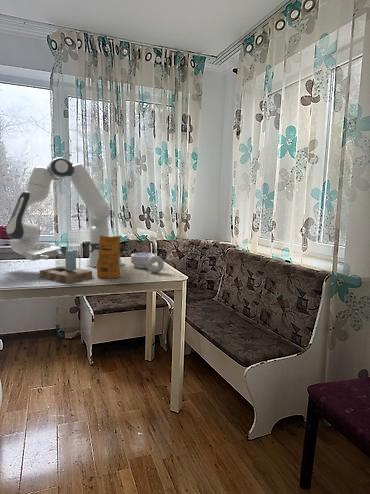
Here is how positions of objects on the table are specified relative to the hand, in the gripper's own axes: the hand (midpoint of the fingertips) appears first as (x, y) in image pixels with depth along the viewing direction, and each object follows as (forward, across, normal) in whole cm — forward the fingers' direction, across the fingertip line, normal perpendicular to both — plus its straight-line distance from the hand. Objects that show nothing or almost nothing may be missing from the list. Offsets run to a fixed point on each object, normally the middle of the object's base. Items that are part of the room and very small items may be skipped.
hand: (55, 256), depth 179 cm
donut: (+44, +32, +6) cm, 55 cm away
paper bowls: (+30, +43, +9) cm, 53 cm away
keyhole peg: (+14, -2, +8) cm, 16 cm away
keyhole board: (+10, -2, +8) cm, 13 cm away
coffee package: (+27, +11, +7) cm, 30 cm away
